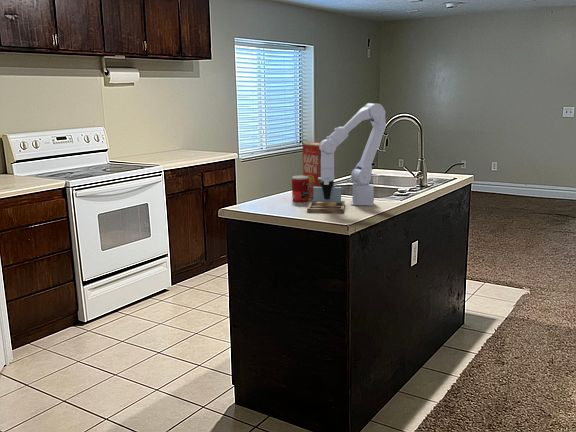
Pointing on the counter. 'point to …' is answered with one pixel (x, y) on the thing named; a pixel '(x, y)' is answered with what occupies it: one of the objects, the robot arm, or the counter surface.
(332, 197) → the panel
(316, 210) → the rack
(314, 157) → the food packaging
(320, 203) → the offcut
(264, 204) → the counter surface
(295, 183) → the canned food
